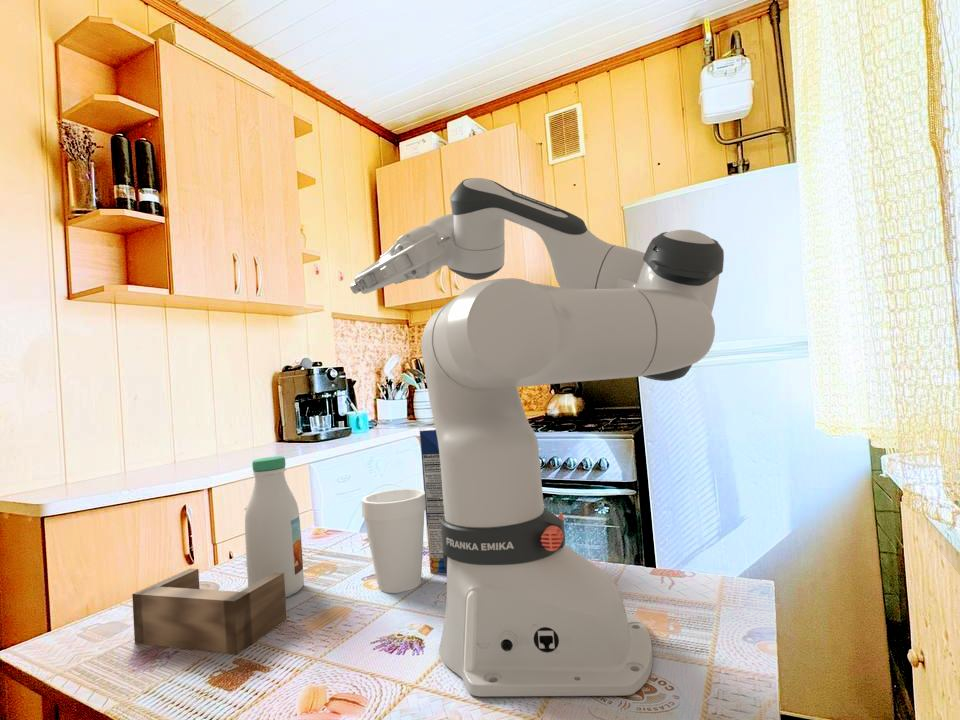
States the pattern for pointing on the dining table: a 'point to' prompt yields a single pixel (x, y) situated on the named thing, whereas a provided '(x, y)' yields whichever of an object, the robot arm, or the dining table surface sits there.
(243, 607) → the walnut dock
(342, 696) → the dining table surface
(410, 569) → the foam cup
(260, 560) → the milk bottle
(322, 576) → the dining table surface
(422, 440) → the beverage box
